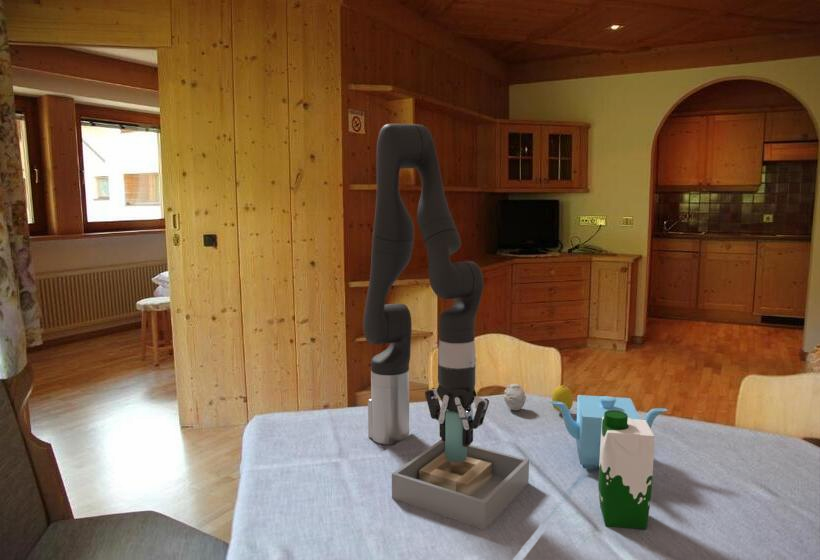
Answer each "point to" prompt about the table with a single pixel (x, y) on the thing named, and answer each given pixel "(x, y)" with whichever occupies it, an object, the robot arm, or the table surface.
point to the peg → (454, 437)
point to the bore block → (467, 484)
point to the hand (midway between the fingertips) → (456, 442)
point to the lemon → (562, 397)
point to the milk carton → (625, 470)
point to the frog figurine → (514, 397)
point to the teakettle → (596, 423)
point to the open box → (471, 510)
